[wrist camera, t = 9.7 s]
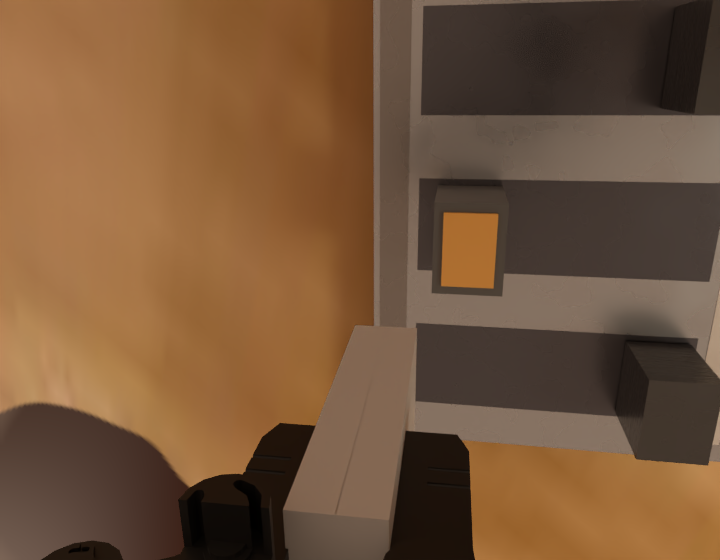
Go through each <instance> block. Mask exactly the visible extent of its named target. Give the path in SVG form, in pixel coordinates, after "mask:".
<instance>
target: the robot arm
mask: <svg viewBox="0 0 720 560" xmlns="http://www.w3.org/2000/svg"><path fill="white" fill-rule="evenodd" d="M416 349H417V328H404V327H384V326H364V325H355V327H354V330H353V332H352V335H351V337H350V340H349V342H348V345H347V347H346V350H345V353H344V355H343V358H342V360H341V363H340V365H339V368H338V370H337V373H336V376H335V378H334V381H333V383H332V386H331V388H330V391H329V393H328V396H327V398H326V401H325V404H324V406H323V409H322V411H321V414H320V416H319V419H318V421H317V424H316V426H311V425H298V424H285V423H280V424H278V425H277V426H276V427H275V428H273V429H272V430H271V431H269V432H268V433H267V434H266V435H264V436H263V437H262V439H261V441H260V442H259V444H258V446H257V448H256V450H255V452H254V454H253V458H251V460H250V461H249V463H248V465H247V467H246V472H244V473H243V475H242V474H225V475H219V476H215V477H212V478H208V479H204V480H203V481H201V482H199V483H197V484H196V485H194V486H192V487H190V488H189V489H188V490H187V491H186V492H185V493H184V494H183V495H182V496H181V497H180V498H179V500H178V501H179V508H180V516H181V523H182V531H183V538H184V546H185V547H184V548H183V550H182V552H181V554H179V555H176V556H174V557H169V558H166V559H161V560H475V557H474V553H473V541H472V516H471V490H470V465H469V451H468V449H467V448H466V446H465V445H464V443H463V442H462V441H461V439H460V438H459V436H458V435H456V434H443V433H429V432H416V431H414V429H415V394H416ZM42 560H123V559H122V556H121V554H120V551H119V550H118V549H117V548H115V547H114V546H112V545H111V544H109V543H105V542H97V541H87V542H80V543H74V544H71V545H69V546H66V547H63V548H61V549H58V550H56V551H54V552H52V553H51V554H49V555H48V556H46V557H45V558H43V559H42Z"/></svg>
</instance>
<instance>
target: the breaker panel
mask: <svg viewBox="0 0 720 560" xmlns="http://www.w3.org/2000/svg"><path fill="white" fill-rule="evenodd" d="M373 69H374V326H384V327H404V328H417V349H416V394H415V429H414V431H416V432H429V433H443V434H456V435H458V436H459V438H460V439H461V440H469V441H481V442H492V443H504V444H516V445H528V446H540V447H552V448H563V449H575V450H587V451H599V452H611V453H622V454H634V455H635V458H636V459H640V460H651V461H663V462H675V463H686V464H698V465H708V463H709V461H717V462H720V0H373ZM438 185H454V186H503V188H504V191H505V194H506V197H507V200H508V202H509V212H508V225H507V239H506V253H505V266H504V280H503V294H502V297H500V296H479V295H457V294H436V293H432V262H433V230H434V202H435V197H436V193H437V188H438Z"/></svg>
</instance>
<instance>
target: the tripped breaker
mask: <svg viewBox="0 0 720 560" xmlns="http://www.w3.org/2000/svg"><path fill="white" fill-rule="evenodd" d="M508 212H509V202H508V200H507V197H506V194H505V191H504V188H503V186H454V185H438V188H437V193H436V197H435V202H434V230H433V262H432V293H436V294H457V295H479V296H500V297H502V294H503V280H504V266H505V253H506V239H507V225H508Z"/></svg>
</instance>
